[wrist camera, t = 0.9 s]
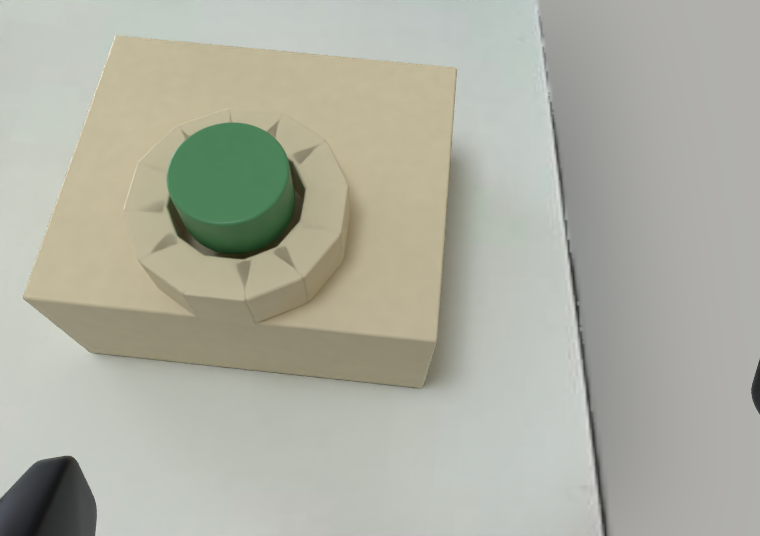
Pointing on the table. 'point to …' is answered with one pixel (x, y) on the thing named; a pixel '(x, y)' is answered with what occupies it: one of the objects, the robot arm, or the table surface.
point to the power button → (232, 187)
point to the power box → (285, 254)
